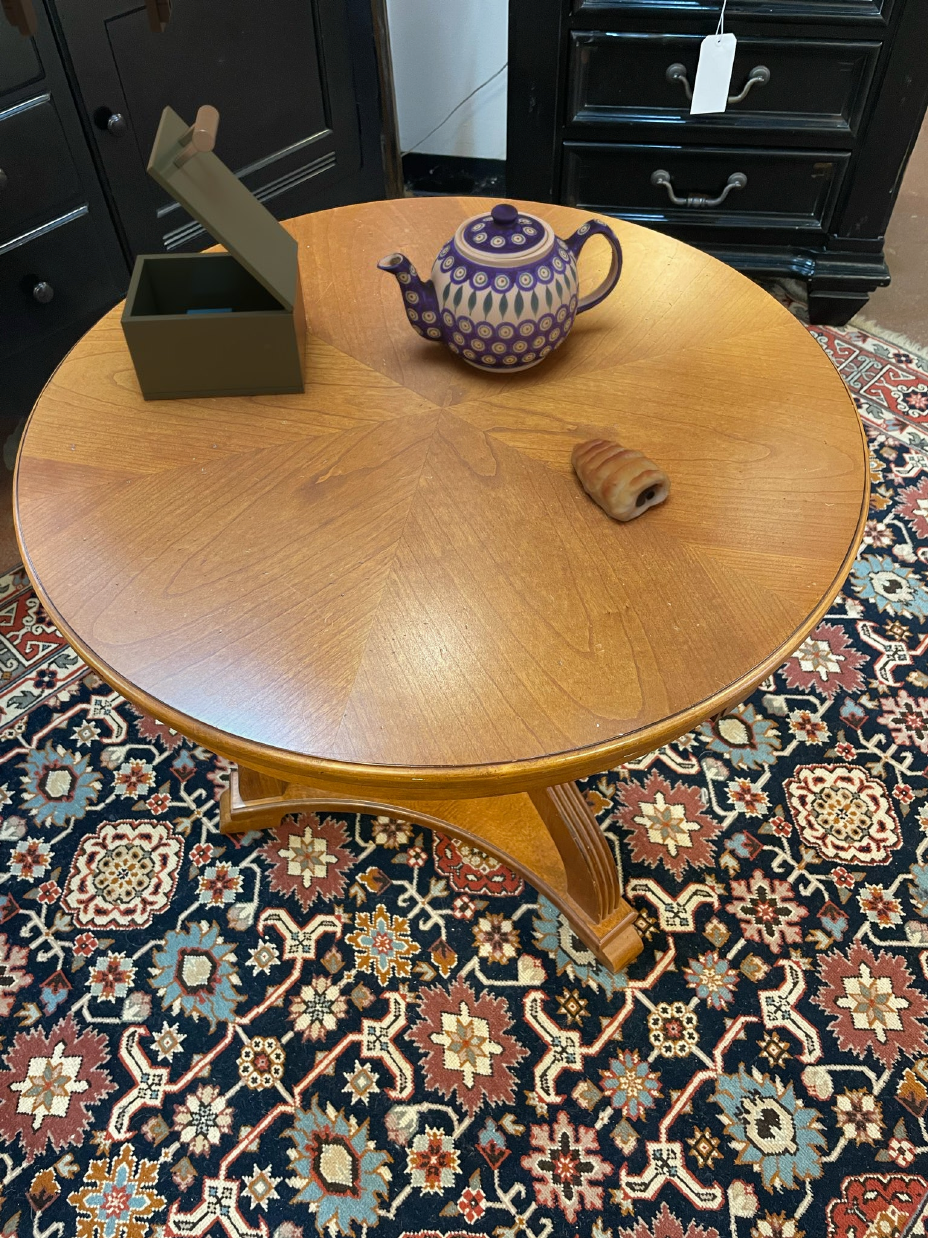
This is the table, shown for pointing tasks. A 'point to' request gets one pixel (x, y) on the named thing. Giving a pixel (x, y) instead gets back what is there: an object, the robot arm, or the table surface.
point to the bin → (211, 330)
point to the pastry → (619, 478)
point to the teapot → (502, 288)
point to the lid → (223, 202)
